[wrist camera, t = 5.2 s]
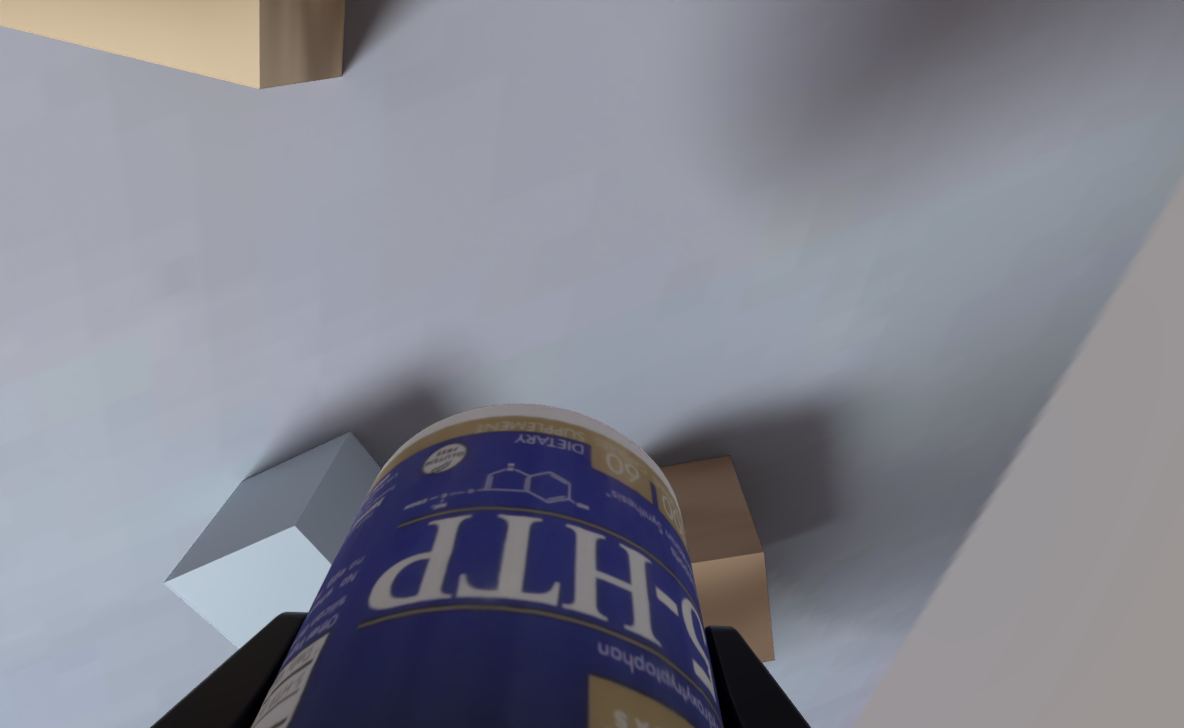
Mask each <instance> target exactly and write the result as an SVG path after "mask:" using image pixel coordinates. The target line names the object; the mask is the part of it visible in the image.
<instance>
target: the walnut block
mask: <svg viewBox="0 0 1184 728" xmlns="http://www.w3.org/2000/svg"><path fill="white" fill-rule="evenodd" d="M659 468H660V470H661V471H662V472H663V474H664V475H665V477H666V479H667V480H668V482H669V484H670V486H671V488H672V490H673V492H674V494H675V496H676V499H677V502H678V505H679V508H680V512H681V516H682V521H683V526H684V530H685V534H686V539H687V544H688V549H689V555H690V560H691V565H692V570H693V575H694V580H695V585H696V590H697V595H698V600H699V604H700V609H701V614H702V619H703V625H704V629H705V627H707V626H710V625H713V626H731V627H734V628H735V629H736V630H737V631H738V632H739V633H740V634H741V636H742V637H743V638H744V640H745V641H746V642H747V644H748V645H749V646H750V648H751V649H752V650H753V651H754V653H755V654H756V655H757V657H758V658H759V659H760V661H761V662H766V661H773V660H775V657H774V647H773V637H772V627H771V618H770V608H769V598H768V588H767V578H766V568H765V558H764V551H763V548H762V545H761V543H760V540H759V537H758V534H757V531H756V528H755V525H754V523H753V520H752V517H751V514H750V511H749V508H748V506H747V503H746V500H745V497H744V494H743V491H742V489H741V486H740V483H739V480H738V477H737V474H736V471H735V469H734V466H733V463H732V460H731V457H730V455H729V456H724V457H718V458H712V459H706V460H700V461H694V462H689V463H683V464H677V465H671V466H665V467H659Z"/></svg>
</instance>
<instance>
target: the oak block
mask: <svg viewBox="0 0 1184 728" xmlns="http://www.w3.org/2000/svg"><path fill="white" fill-rule="evenodd" d="M345 2H346V0H0V26H5V27H9V28H13V29H17V30H21V31H25V32H29V33H33V34H37V35H41V36H45V37H49V38H53V39H58V40H62V41H66V42H70V43H74V44H78V45H82V46H86V47H90V48H94V49H98V50H102V51H106V52H111V53H115V54H119V55H123V56H127V57H131V58H135V59H139V60H143V61H147V62H151V63H155V64H160V65H164V66H168V67H172V68H176V69H180V70H184V71H188V72H192V73H196V74H200V75H204V76H208V77H213V78H217V79H221V80H225V81H229V82H233V83H237V84H241V85H245V86H249V87H253V88H257V89H263V88H270V87H276V86H283V85H289V84H296V83H302V82H309V81H316V80H322V79H329V78H335V77H342V61H343V41H344V22H345Z"/></svg>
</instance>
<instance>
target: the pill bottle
mask: <svg viewBox="0 0 1184 728" xmlns="http://www.w3.org/2000/svg"><path fill="white" fill-rule="evenodd" d="M251 728H724V727H723V722H722V716H721V711H720V706H719V701H718V696H717V691H716V686H715V681H714V676H713V671H712V666H711V661H710V656H709V650H708V645H707V640H706V635H705V630H704V625H703V619H702V614H701V609H700V604H699V600H698V595H697V590H696V585H695V580H694V575H693V570H692V565H691V560H690V555H689V549H688V544H687V539H686V534H685V530H684V526H683V521H682V516H681V512H680V508H679V505H678V502H677V499H676V496H675V494H674V492H673V490H672V488H671V486H670V484H669V482H668V480H667V479H666V477H665V475H664V474H663V472H662V471H661V470H660V468H659V467H658V466H657V464H656V463H655V462H654V461H653V460H652V459H651V458H650V457H649V455H648V454H647V453H646V452H644V451H643V450H642V449H641V448H640V447H639V446H637V445H636V444H635V443H634V442H633V441H631V440H630V439H628V438H627V437H625V436H624V435H623V434H621V433H619V432H618V431H616V430H615V429H613V428H611V427H609V426H607V425H605V424H604V423H602V422H600V421H597V420H595V419H593V418H590V417H588V416H586V415H583V414H580V413H577V412H573V411H570V410H566V409H561V408H556V407H551V406H545V405H536V404H503V405H492V406H487V407H482V408H476V409H472V410H468V411H465V412H461V413H458V414H455V415H452V416H450V417H447V418H445V419H443V420H440V421H438V422H436V423H434V424H432V425H431V426H429V427H427V428H425V429H424V430H422V431H420V432H419V433H417V434H416V435H415V436H413V437H412V438H411V439H409V440H408V441H407V442H406V443H405V444H403V445H402V446H401V447H400V448H399V449H398V450H397V451H396V452H395V453H394V455H393V456H392V457H391V458H390V459H389V460H388V461H387V463H386V464H385V465H384V467H383V468H382V470H381V471H380V473H379V474H378V476H377V478H376V480H375V482H374V483H373V485H372V487H371V489H370V490H369V492H368V494H367V496H366V498H365V499H364V501H363V503H362V506H361V508H360V510H359V512H358V514H357V515H356V517H355V519H354V521H353V523H352V525H351V527H350V530H349V532H348V534H347V536H346V538H345V540H344V542H343V544H342V546H341V548H340V550H339V552H338V554H337V555H336V557H335V559H334V561H333V563H332V565H331V567H330V569H329V571H328V573H327V575H326V577H325V579H324V581H323V583H322V585H321V587H320V589H319V591H318V594H317V596H316V598H315V600H314V602H313V604H312V606H311V608H310V610H309V612H308V614H307V616H306V618H305V620H304V622H303V624H302V626H301V628H300V630H299V632H298V634H297V636H296V638H295V640H294V642H293V644H292V646H291V648H290V651H289V653H288V655H287V657H286V659H285V661H284V663H283V665H282V667H281V669H280V671H279V673H278V675H277V677H276V679H275V681H274V683H273V685H272V687H271V688H270V690H269V692H268V694H267V696H266V698H265V700H264V702H263V704H262V707H261V709H260V711H259V713H258V715H257V717H256V719H255V721H254V723H253V724H252V726H251Z"/></svg>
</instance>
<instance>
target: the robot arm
mask: <svg viewBox="0 0 1184 728" xmlns="http://www.w3.org/2000/svg"><path fill="white" fill-rule="evenodd" d="M307 614H308V612H283V613H281V614H279V615H277V616H276V617H275V618H274V619H273V620H272V621H270V622H269V623H268V624H267V625H266V626H265V627H264V628H262V629H261V630H260V631H259V632H258V633H257V634H256V635H255V636H253V637H252V638H251V639H250V640H249V641H248V642H247V643H245V644H244V645H243V646H242V647H241V648H240V649H239V650H238V651H236V652H235V653H234V654H233V655H232V656H231V657H230V658H228V659H227V660H226V661H225V662H224V663H223V664H222V665H221V666H219V667H218V668H217V669H216V670H215V671H214V672H213V673H211V674H210V675H209V676H208V677H207V678H206V679H205V680H204V681H202V682H201V683H200V684H199V685H198V686H197V687H196V688H194V689H193V690H192V691H191V692H190V693H189V694H188V695H187V696H185V697H184V698H183V699H182V700H181V701H180V702H179V703H177V704H176V705H175V706H174V707H173V708H172V709H171V710H170V711H168V712H167V713H166V714H165V715H164V716H163V717H162V718H160V719H159V720H158V721H157V722H156V723H155V724H154V725H152V726H151V727H150V728H251V726H252V724H253V723H254V721H255V719H256V717H257V715H258V713H259V711H260V709H261V707H262V704H263V702H264V700H265V698H266V696H267V694H268V692H269V690H270V688H271V687H272V685H273V683H274V681H275V679H276V677H277V675H278V673H279V671H280V669H281V667H282V665H283V663H284V661H285V659H286V657H287V655H288V653H289V651H290V648H291V646H292V644H293V642H294V640H295V638H296V636H297V634H298V632H299V630H300V628H301V626H302V624H303V622H304V620H305V618H306V616H307ZM704 630H705V635H706V640H707V645H708V650H709V656H710V661H711V666H712V671H713V676H714V681H715V686H716V691H717V696H718V701H719V706H720V711H721V716H722V722H723V727H724V728H811V727H810V726H809V724H808V723H807V722H806V720H805V719H804V718H803V716H802V715H801V714H800V712H799V711H798V710H797V708H796V707H795V706H794V704H793V703H792V702H791V700H790V699H789V698H788V696H787V695H786V694H785V692H784V691H783V690H782V689H781V687H780V686H779V685H778V683H777V682H776V681H775V679H774V678H773V677H772V675H771V674H770V673H769V671H768V670H767V669H766V667H765V666H764V665H763V663H762V662H761V661H760V659H759V658H758V657H757V655H756V654H755V653H754V651H753V650H752V649H751V648H750V646H749V645H748V644H747V642H746V641H745V640H744V638H743V637H742V636H741V634H740V633H739V632H738V631H737V630H736V629H735V628H734V627H731V626H713V625H710V626H707V627H705V629H704Z"/></svg>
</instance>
